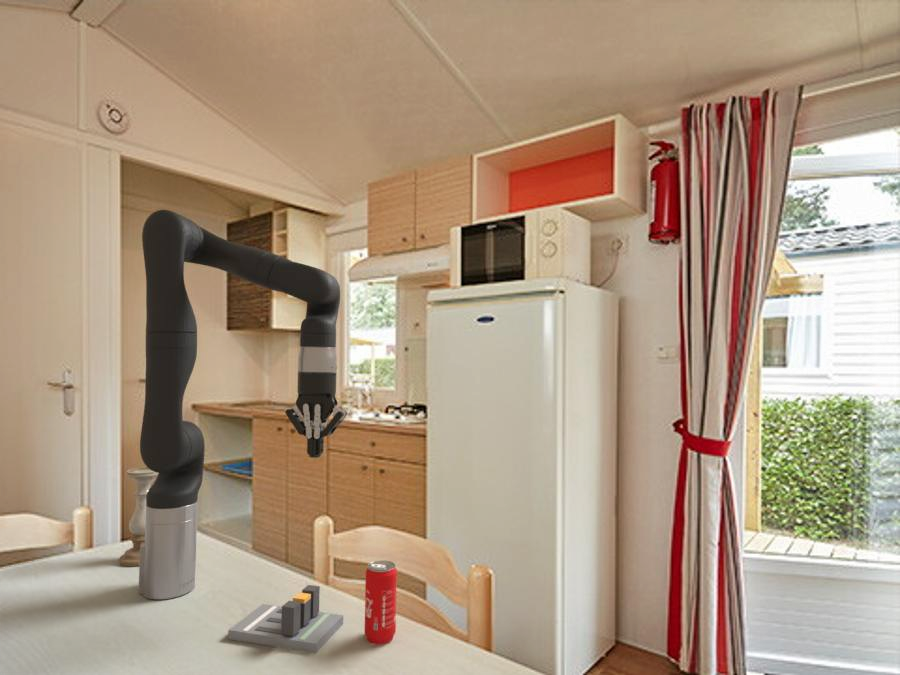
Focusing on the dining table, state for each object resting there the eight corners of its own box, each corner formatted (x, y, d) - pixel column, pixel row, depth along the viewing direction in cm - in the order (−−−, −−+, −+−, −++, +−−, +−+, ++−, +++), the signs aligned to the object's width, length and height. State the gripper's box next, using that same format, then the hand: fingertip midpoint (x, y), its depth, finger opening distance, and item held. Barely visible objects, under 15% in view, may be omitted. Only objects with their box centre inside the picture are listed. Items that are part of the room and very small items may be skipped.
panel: (228, 639, 91) (228, 629, 91) (262, 612, 101) (262, 603, 101) (316, 653, 87) (316, 642, 87) (343, 623, 97) (343, 614, 97)
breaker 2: (292, 625, 93) (292, 597, 93) (298, 619, 95) (299, 592, 95) (303, 626, 92) (304, 599, 92) (310, 620, 94) (310, 594, 94)
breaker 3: (301, 616, 96) (302, 589, 96) (307, 610, 98) (308, 584, 98) (313, 617, 95) (313, 591, 95) (319, 612, 97) (319, 586, 98)
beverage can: (390, 647, 89) (391, 572, 90) (359, 644, 90) (361, 569, 91) (399, 632, 94) (400, 561, 95) (370, 628, 95) (372, 558, 96)
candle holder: (171, 555, 128) (174, 467, 129) (140, 569, 120) (143, 475, 121) (142, 550, 131) (145, 465, 132) (109, 563, 123) (113, 472, 123)
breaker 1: (281, 634, 89) (281, 606, 90) (288, 628, 91) (288, 600, 92) (293, 636, 89) (294, 608, 89) (300, 629, 91) (300, 602, 91)
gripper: (277, 369, 108) (275, 458, 107) (339, 371, 105) (337, 462, 104) (297, 369, 115) (294, 452, 115) (355, 370, 112) (353, 455, 111)
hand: (315, 456), depth 109 cm, fingers closed
